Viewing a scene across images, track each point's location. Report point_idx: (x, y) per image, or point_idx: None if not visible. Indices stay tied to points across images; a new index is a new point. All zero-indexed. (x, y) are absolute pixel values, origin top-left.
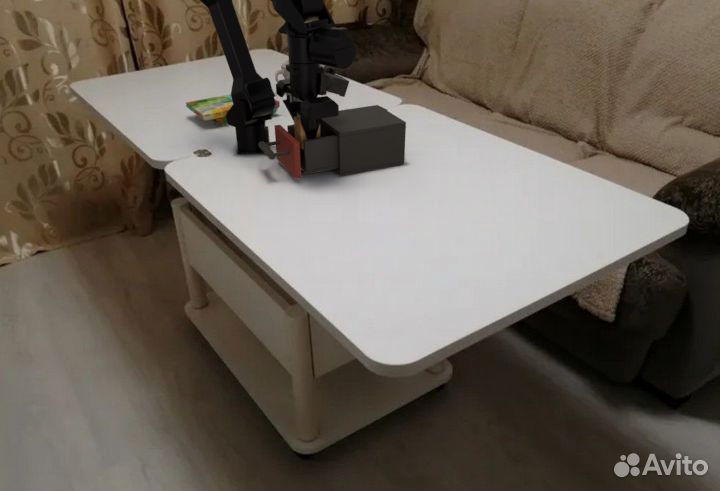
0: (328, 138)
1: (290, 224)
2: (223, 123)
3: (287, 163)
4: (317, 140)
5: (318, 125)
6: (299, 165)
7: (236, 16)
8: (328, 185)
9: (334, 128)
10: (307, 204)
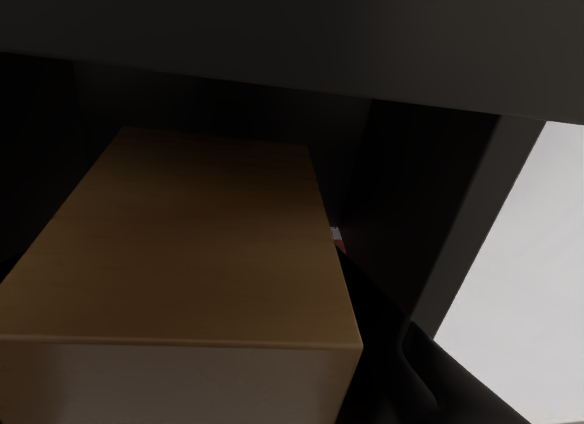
0: (496, 198)
1: (569, 350)
2: None
3: None
4: (451, 292)
5: (441, 359)
6: None
7: None
8: None
9: (517, 109)
10: (523, 279)
